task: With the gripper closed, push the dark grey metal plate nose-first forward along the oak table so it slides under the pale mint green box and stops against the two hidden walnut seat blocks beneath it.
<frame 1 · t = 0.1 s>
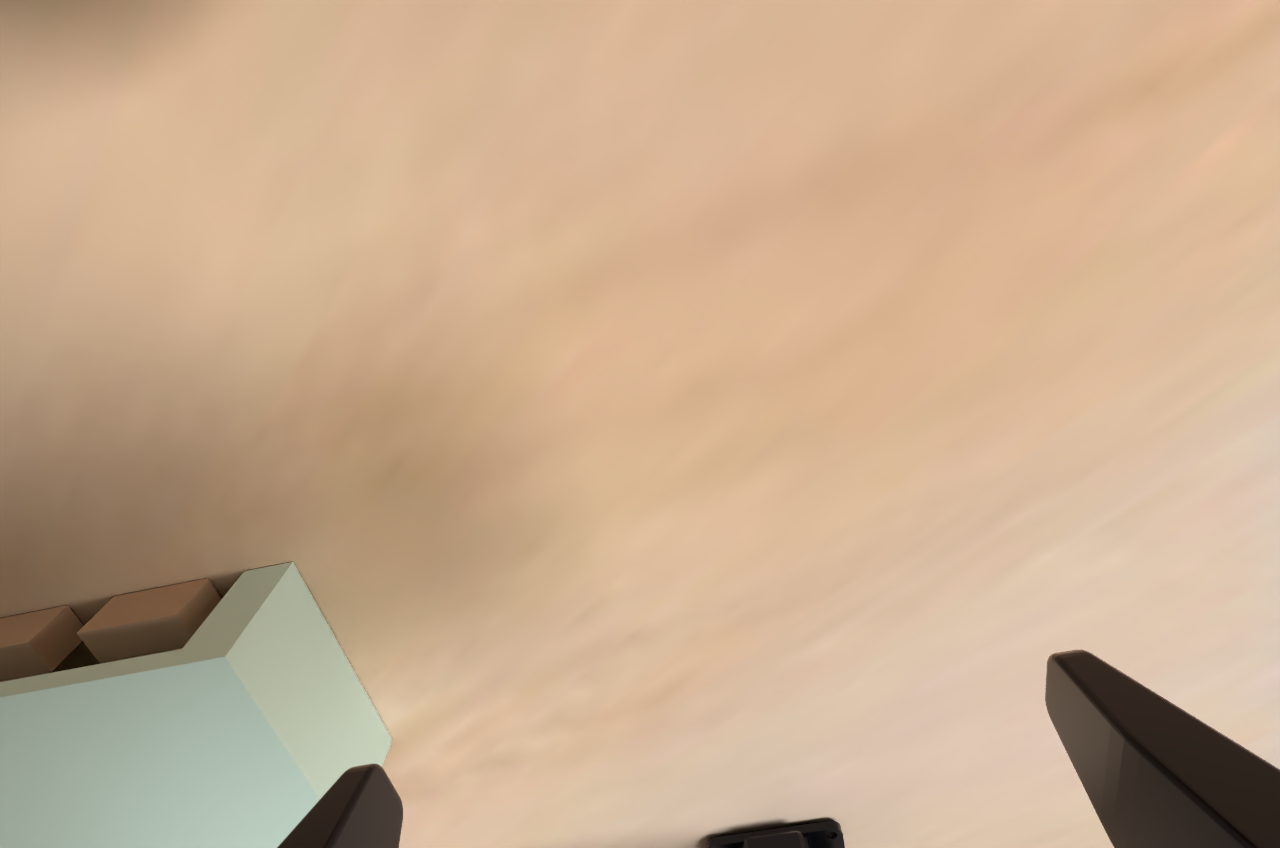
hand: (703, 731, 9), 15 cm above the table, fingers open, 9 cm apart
pale mint green box: (158, 690, 29), on the table
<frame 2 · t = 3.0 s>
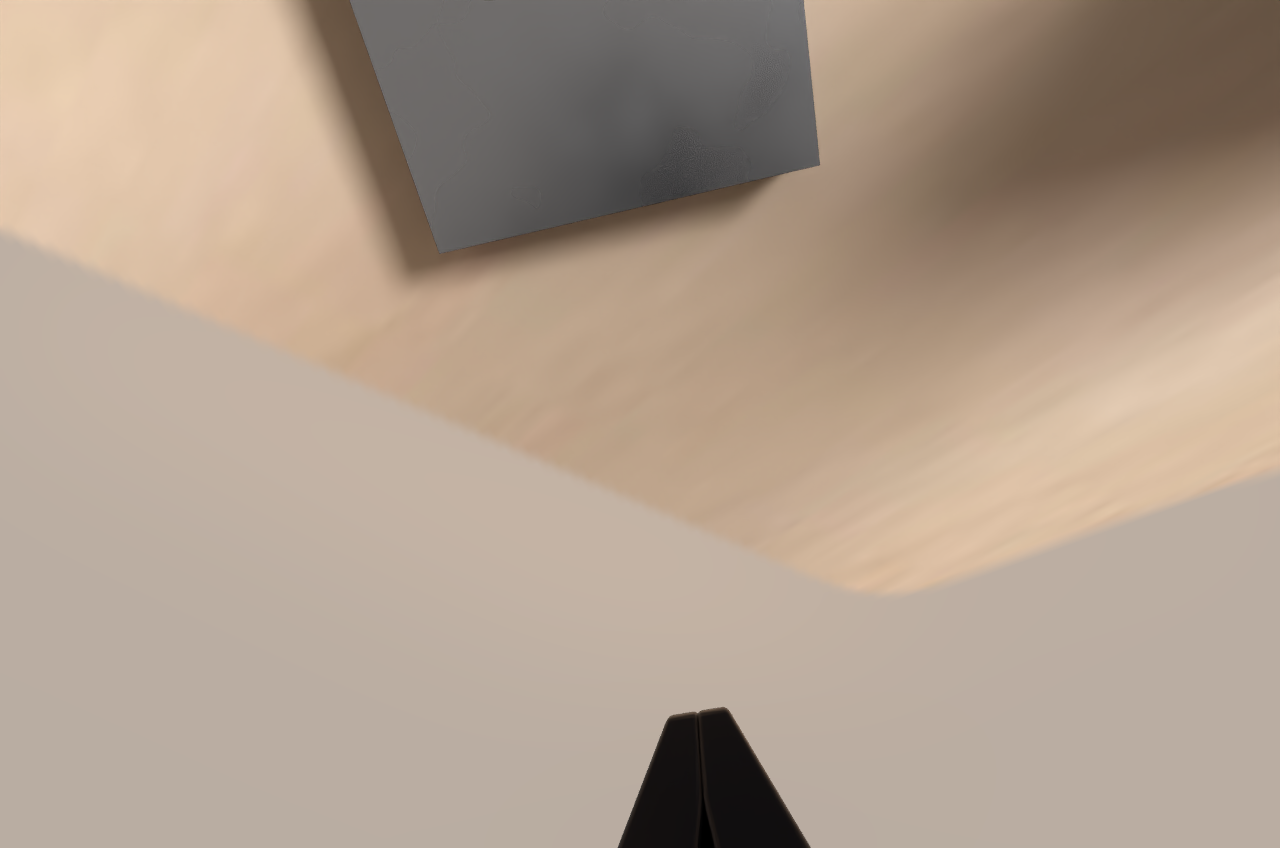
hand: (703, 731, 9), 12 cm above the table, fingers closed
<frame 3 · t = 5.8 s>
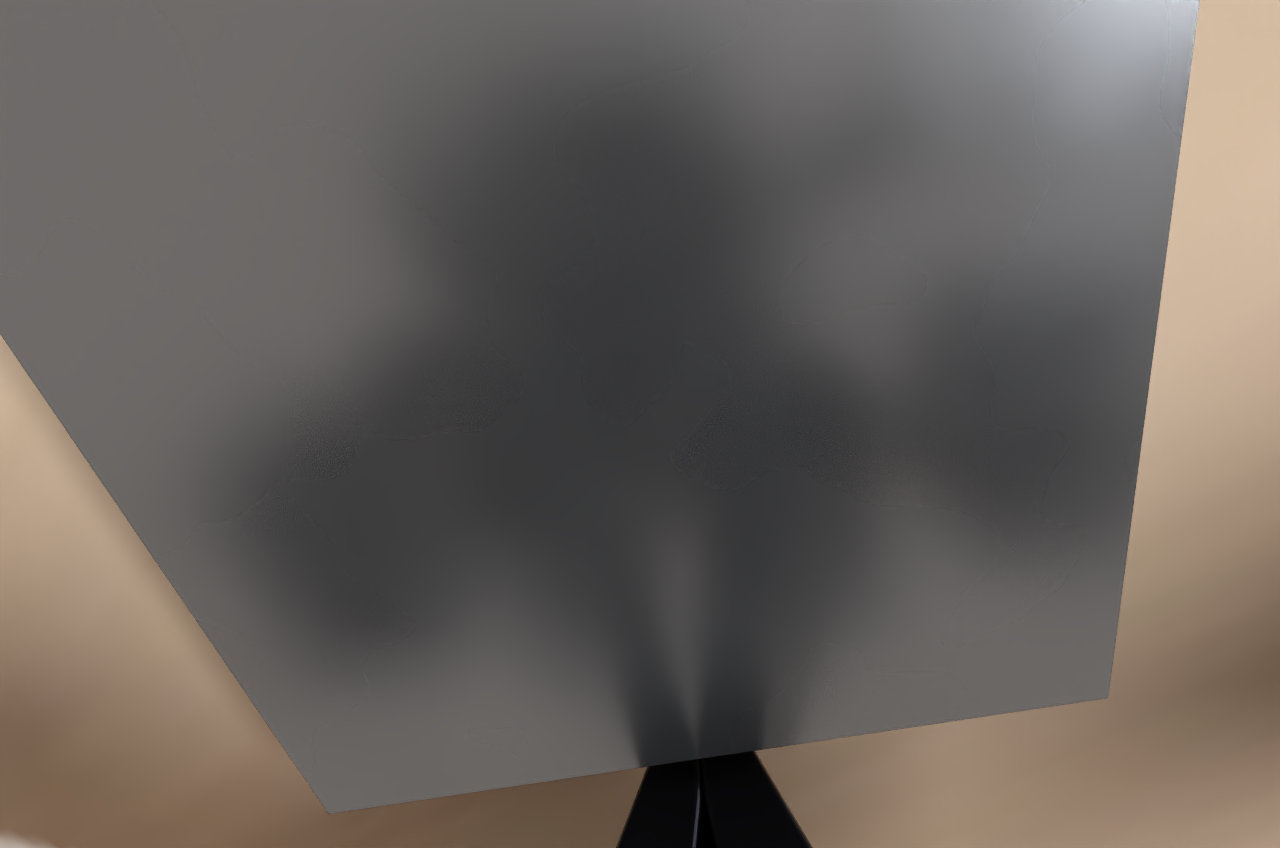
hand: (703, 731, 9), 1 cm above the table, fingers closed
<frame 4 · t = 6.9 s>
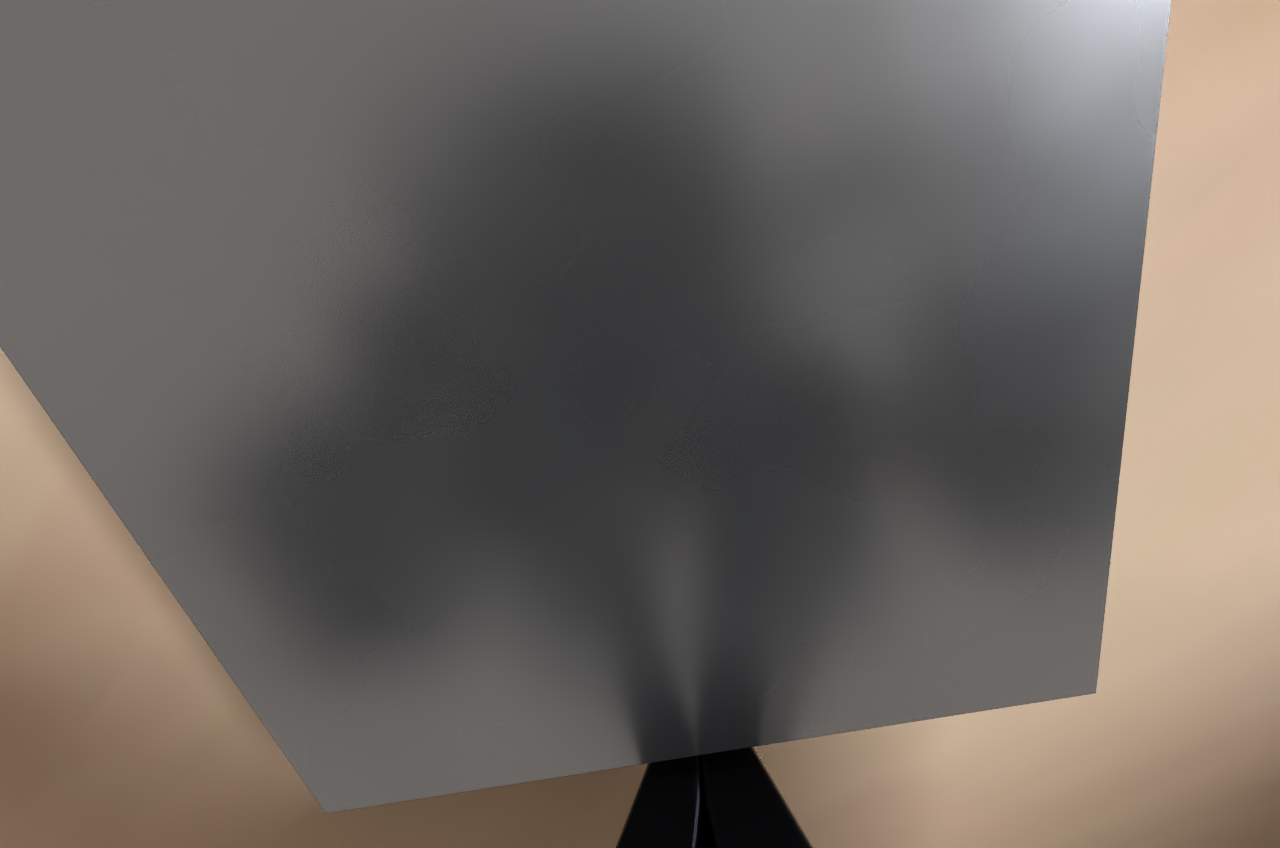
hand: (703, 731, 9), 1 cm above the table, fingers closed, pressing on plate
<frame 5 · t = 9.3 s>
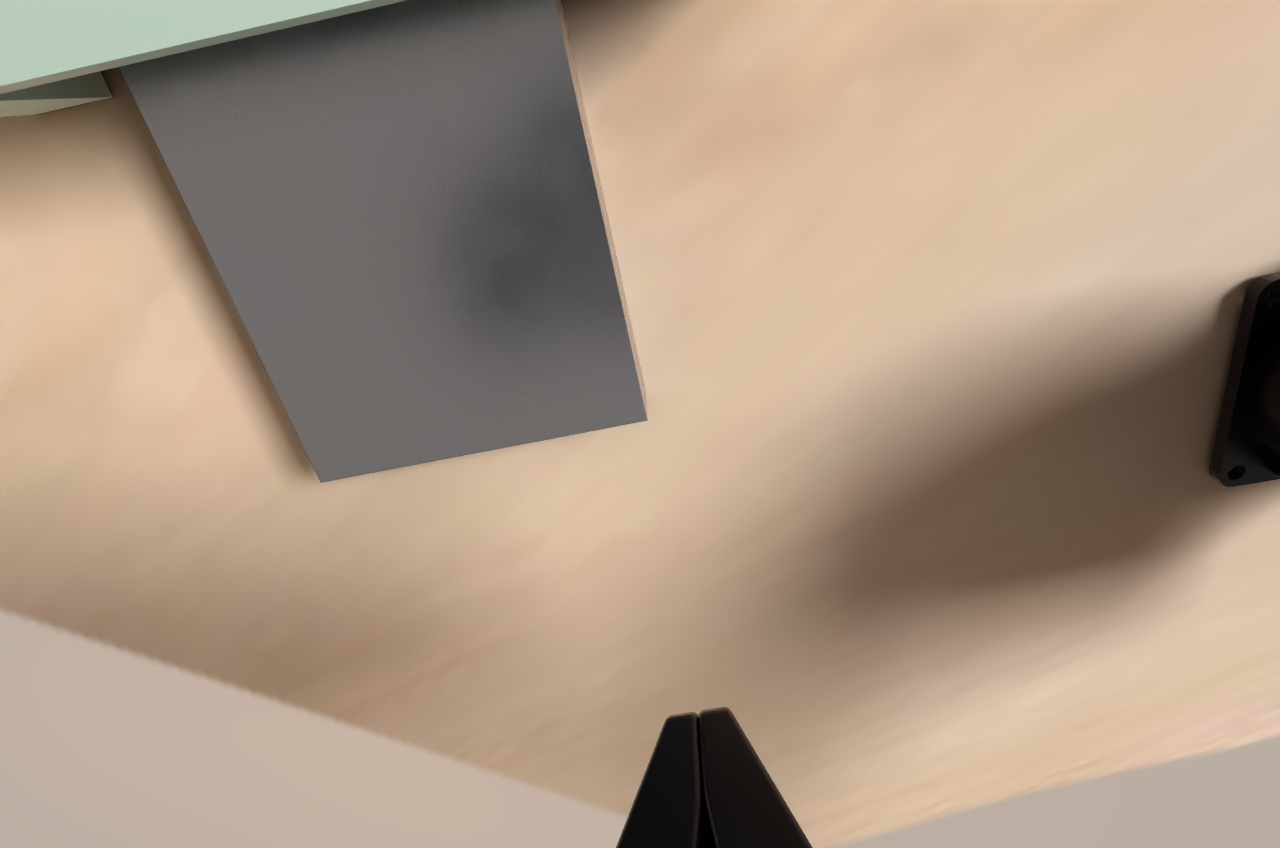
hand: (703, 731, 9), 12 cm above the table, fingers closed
plate: (398, 125, 17), on the table
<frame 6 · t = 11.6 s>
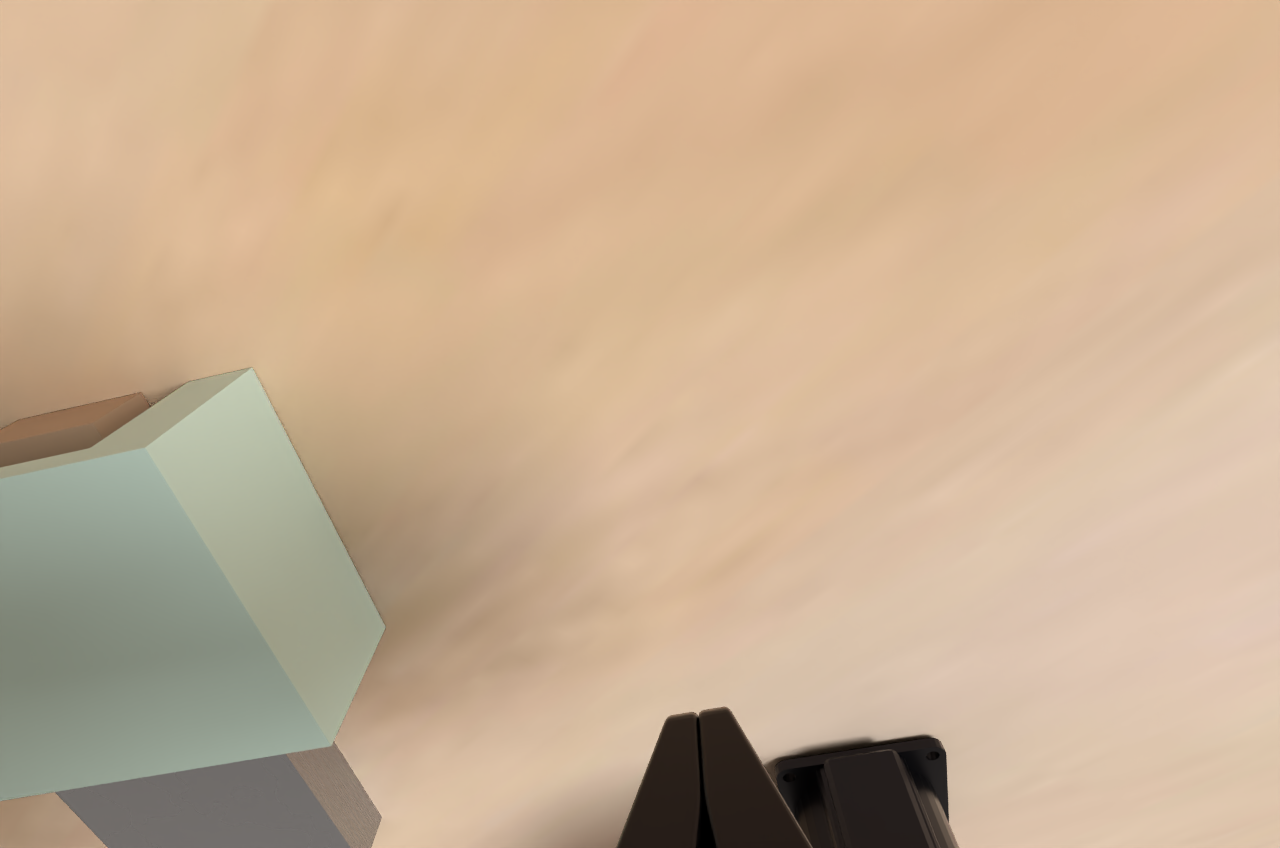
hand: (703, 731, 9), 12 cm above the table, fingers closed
pale mint green box: (85, 558, 23), on the table
plate: (186, 699, 26), on the table
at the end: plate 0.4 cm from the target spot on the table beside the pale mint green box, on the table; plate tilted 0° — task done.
